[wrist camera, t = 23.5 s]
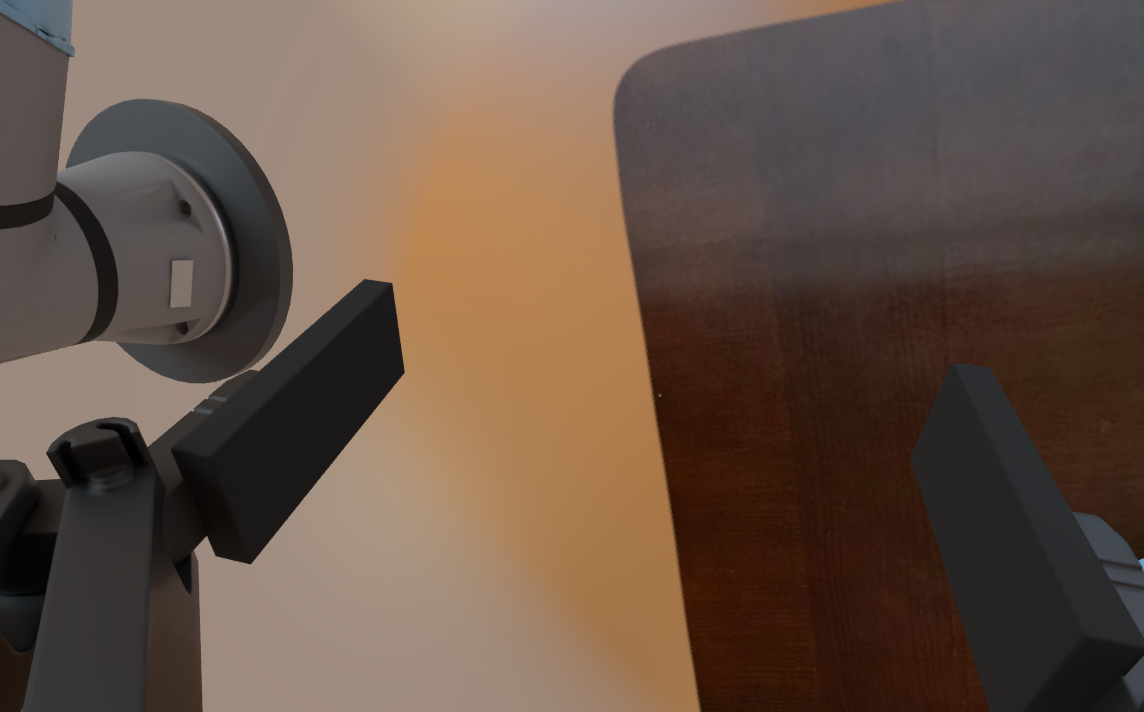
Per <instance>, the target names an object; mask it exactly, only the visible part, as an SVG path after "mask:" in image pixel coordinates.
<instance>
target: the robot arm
mask: <svg viewBox="0 0 1144 712" xmlns="http://www.w3.org/2000/svg"><path fill="white" fill-rule="evenodd" d="M72 5H73V0H0V363H5V362H8V361H12V360H17V359H21V358H25V357H28V356H32V355H37V354H41V353H45V352H49V351H52V350H57V349H60V348H65V347H69V346H72V345H76V344H81V343H85V342H89V341H94V340H96V341H111V342H127V343H142V344H158V345H167V344H177V343H184V342H187V341H191V340H195V339H198V338H201V337H204V336H206V335H208V334H210V333H212V332H213V331H215V330H216V329H217V328H218V327H219V326H220V325H221V324H222V323H223V322H224V321H225V319H226V318H227V316H228V315H229V313H230V311H231V309H232V307H233V304H234V302H235V298H236V295H237V290H238V285H239V256H238V249H237V244H236V239H235V236H234V232H233V229H232V226H231V224H230V221H229V219H228V216H227V214H226V212H225V210H224V208H223V206H222V204H221V203H220V201H219V199H218V198H217V196H216V195H215V193H214V192H213V191H212V189H211V188H210V187H209V185H208V184H207V183H206V182H205V181H204V180H203V179H202V178H201V177H200V176H199V175H198V174H197V173H196V172H195V171H194V170H193V169H191V168H190V167H189V166H187V165H186V164H184V163H183V162H181V161H179V160H177V159H175V158H173V157H171V156H168V155H166V154H162V153H157V152H144V151H128V152H120V153H113V154H109V155H106V156H103V157H100V158H97V159H94V160H91V161H88V162H85V163H82V164H79V165H76V166H73V167H70V168H67V169H65V170H61V171H59V172H57V169H58V159H59V149H60V139H61V130H62V120H63V111H64V101H65V91H66V81H67V72H68V62H69V57H74V54H75V49H74V47H73V46H72V45H71V26H72ZM404 373H405V371H404V364H403V357H402V350H401V343H400V336H399V328H398V321H397V314H396V307H395V300H394V292H393V285H392V283H387V282H381V281H374V280H367V279H364V280H363V281H362V282H361V283H359V284H358V285H357V286H356V287H355V288H354V289H353V290H352V291H350V292H349V293H348V294H347V295H346V296H345V297H343V298H342V299H341V300H340V301H339V302H338V303H337V304H335V305H334V306H333V307H332V308H331V309H330V310H329V311H327V312H326V313H325V314H324V315H323V316H322V317H321V318H319V319H318V320H317V321H316V322H315V323H314V324H313V325H311V326H310V327H309V328H308V329H307V330H306V331H305V332H303V333H302V334H301V335H300V336H299V337H298V338H297V339H295V340H294V341H293V342H292V343H291V344H290V345H289V346H288V347H286V348H285V349H284V350H283V351H282V352H281V353H279V355H277V356H276V357H275V358H274V359H273V360H271V361H270V362H269V363H268V364H267V365H266V366H264V367H263V368H262V369H261V370H260V371H255V370H248V371H246V372H244V373H242V374H240V375H238V376H236V377H234V378H232V379H230V380H228V381H226V382H225V383H224V384H223V385H221V386H220V387H219V388H218V389H217V390H216V391H214V392H213V393H212V394H211V395H209V398H208V399H205V400H203V401H202V402H201V403H200V404H199V405H197V406H196V407H195V408H194V411H193V412H192V411H191V412H189V413H188V414H187V415H186V416H184V417H183V418H182V419H181V420H180V421H178V422H177V423H176V424H175V425H174V426H172V427H171V428H170V429H169V430H168V431H167V432H165V433H164V434H163V435H162V436H160V437H159V438H158V439H157V440H156V441H155V442H153V443H152V444H151V445H150V446H149V447H147V446H146V443H145V441H144V439H143V437H142V435H141V432H140V430H139V428H138V426H137V424H136V423H135V422H133V421H131V420H129V419H127V418H117V417H111V418H104V419H97V420H94V421H91V422H87V423H84V424H81V425H79V426H77V427H75V428H73V429H71V430H69V431H67V432H65V433H64V434H63V435H61V436H60V437H59V438H58V439H56V440H55V441H54V442H53V443H52V444H51V446H50V447H49V449H48V451H47V452H46V454H47V456H48V457H49V459H50V461H51V463H52V464H53V466H54V468H55V470H56V471H57V473H58V475H59V476H60V478H61V479H53V480H35V479H34V478H33V476H32V475H31V473H30V471H29V469H28V468H27V466H26V464H25V463H22V462H19V461H17V460H0V712H21V711H22V709H23V711H22V712H203V711H202V678H201V644H200V610H199V574H198V561H197V558H196V555H195V552H194V549H195V548H196V547H197V546H198V545H199V543H200V542H201V541H202V540H203V539H204V538H205V537H206V536H207V537H208V539H209V541H210V544H211V546H212V548H213V551H214V553H215V556H217V557H222V558H226V559H230V560H234V561H239V562H243V563H247V564H252V562H253V561H254V560H255V559H256V557H257V556H258V555H259V554H260V552H261V551H262V550H263V549H264V547H265V546H266V545H267V544H268V542H269V541H270V540H271V538H272V537H273V536H274V535H275V534H276V532H277V531H278V530H279V528H280V527H281V526H282V525H283V524H284V522H285V521H286V520H287V519H288V517H289V516H290V515H291V514H292V512H293V511H294V510H295V509H296V507H297V506H298V505H299V504H300V502H301V501H302V500H303V499H304V497H305V496H306V495H307V494H308V492H309V491H310V490H311V489H312V487H313V486H314V485H315V484H316V482H317V481H318V480H319V479H320V478H321V476H322V475H323V474H324V473H325V471H326V470H327V469H328V468H329V466H330V465H331V464H332V463H333V461H334V460H335V459H336V458H337V456H338V455H339V454H340V453H341V451H342V450H343V449H344V447H345V446H346V445H347V444H348V442H349V441H350V440H351V439H352V438H353V436H354V435H355V434H356V433H357V431H358V430H359V429H360V428H361V426H362V425H363V424H364V422H365V421H366V420H367V419H368V418H369V416H370V415H371V414H372V413H373V411H374V410H375V409H376V408H377V406H378V405H379V404H380V403H381V401H382V400H383V399H384V398H385V396H386V395H387V394H388V393H389V391H390V390H391V389H392V388H393V386H394V385H395V384H396V383H397V381H398V380H399V379H400V378H401V376H402V375H403V374H404ZM910 458H911V461H912V464H913V468H914V471H915V474H916V477H917V480H918V484H919V487H920V490H921V493H922V496H923V499H924V503H925V506H926V509H927V512H928V515H929V519H930V522H931V525H932V528H933V531H934V534H935V538H936V541H937V544H938V547H939V550H940V554H941V557H942V560H943V563H944V566H945V569H946V573H947V576H948V579H949V582H950V585H951V589H952V592H953V595H954V598H955V601H956V604H957V608H958V611H959V614H960V617H961V620H962V624H963V627H964V630H965V633H966V636H967V639H968V643H969V646H970V649H971V652H972V655H973V659H974V662H975V665H976V668H977V671H978V674H979V678H980V681H981V684H982V687H983V690H984V694H985V697H986V700H987V703H988V706H989V709H990V712H1144V572H1143V571H1142V568H1143V567H1142V565H1141V564H1140V562H1139V560H1138V559H1137V557H1136V556H1135V554H1134V553H1133V551H1132V549H1131V548H1130V546H1129V545H1128V543H1127V541H1126V540H1124V539H1123V538H1122V537H1121V536H1120V535H1119V534H1118V533H1117V532H1116V531H1115V530H1113V529H1112V528H1111V527H1110V526H1109V525H1108V524H1107V523H1106V522H1105V521H1104V520H1102V519H1101V518H1100V517H1099V516H1095V515H1090V514H1084V513H1078V512H1072V511H1071V509H1070V508H1069V506H1068V504H1067V502H1066V501H1065V499H1064V497H1063V495H1062V493H1061V492H1060V490H1059V488H1058V486H1057V485H1056V483H1055V481H1054V479H1053V478H1052V476H1051V474H1050V472H1049V471H1048V469H1047V467H1046V465H1045V464H1044V462H1043V460H1042V458H1041V457H1040V455H1039V453H1038V451H1037V450H1036V448H1035V446H1034V444H1033V442H1032V441H1031V439H1030V437H1029V435H1028V434H1027V432H1026V430H1025V428H1024V427H1023V425H1022V423H1021V421H1020V420H1019V418H1018V416H1017V414H1016V413H1015V411H1014V409H1013V407H1012V406H1011V404H1010V402H1009V400H1008V398H1007V397H1006V395H1005V393H1004V391H1003V390H1002V388H1001V386H1000V384H999V383H998V381H997V379H996V377H995V376H994V374H993V372H992V370H991V369H990V368H987V367H980V366H973V365H966V364H959V363H951V365H950V368H949V370H948V372H947V374H946V377H945V379H944V381H943V384H942V386H941V388H940V390H939V393H938V395H937V397H936V400H935V402H934V404H933V406H932V409H931V411H930V413H929V416H928V418H927V420H926V422H925V425H924V427H923V429H922V432H921V434H920V436H919V438H918V441H917V443H916V445H915V448H914V450H913V452H912V454H911V457H910Z"/></svg>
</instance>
